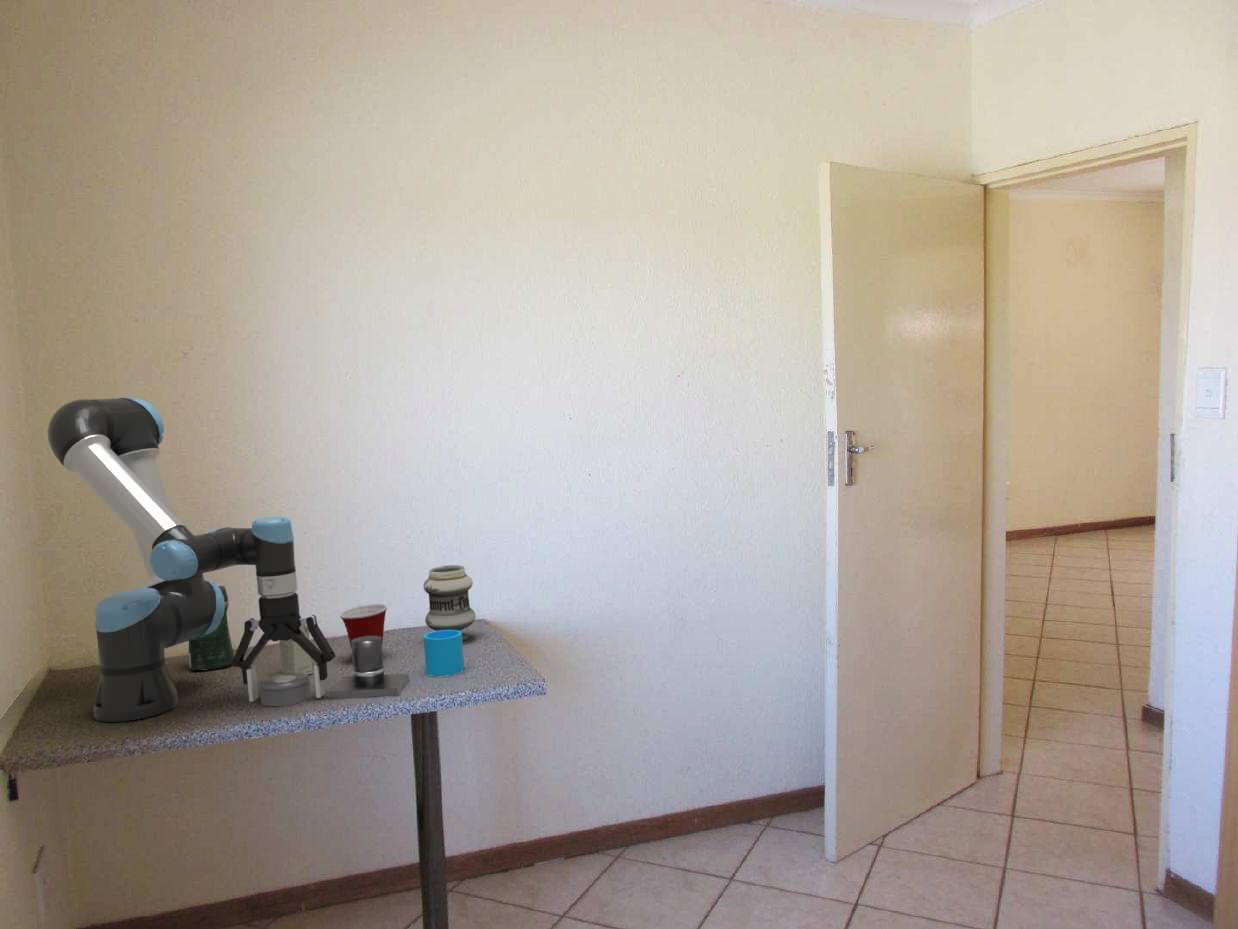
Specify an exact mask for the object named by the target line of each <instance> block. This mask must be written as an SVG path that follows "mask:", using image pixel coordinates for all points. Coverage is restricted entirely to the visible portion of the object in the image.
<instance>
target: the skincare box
mask: <svg viewBox="0 0 1238 929" xmlns="http://www.w3.org/2000/svg"><path fill="white" fill-rule="evenodd" d="M299 629H300V630H301V631H302V632H303V633H304V634H305V636H306V637H307V638H308V639H309V640H310V641H311V639H310V632H309V630H308V628H306V627H305V626H304V624H301V626H300V628H299ZM278 642H279V653H280V661H281V662H280V663H281V672H282V673H281V674H286V673H303V674H307V675H308V676H309V675H311V674H313V673H314V668H313V659H312V658H311V657H310V656H309V655H308V654H307V653H306V652H305V651H304V650H303V649H302V648H301V647H300V646H299V645H298V644H297V643H296V642H294V641H293V640H292V639H290V640H288V641H283V640H278Z"/></svg>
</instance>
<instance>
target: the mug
mask: <svg viewBox="0 0 1238 929" xmlns="http://www.w3.org/2000/svg"><path fill="white" fill-rule="evenodd" d="M462 633H463V632H462V630H460V631H458V630H440V631H436V630H434V631H430V632H427V633H425V634H424V635H423V646H424V650H423V651H424V662H425V674H426V675H427V676H429V675H433V676H445V675H452V676H455V675H454V674H456V675H458V674H457V673H459V672H461V671H462V670H463V669H464V670H465V660H464V647H463V645H464V644H463V643H462ZM461 673H462V672H461ZM459 674H460V673H459ZM433 676H432V677H433Z"/></svg>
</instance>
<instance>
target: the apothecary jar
mask: <svg viewBox="0 0 1238 929" xmlns="http://www.w3.org/2000/svg"><path fill="white" fill-rule="evenodd" d="M465 570H466V569H465V566H464V565H459V564H454V565H452V564H450V565H440V566H437V567H436V566H435V567H433V568H431V569H429V570H428V572H429V573H428V577H427V579H426V580H424V582H423V590H424V592H425V593H426V594H428V600H429V601H428V602H429V603H428V604H429V611H428V612H427V614H426V616H425V619H424V621H425V624H426V626H427V627H428V628H430V629H431V630H434V631H440V630H458V631H463V630H465V629H467V628H468V627H470V626H472V625H473V623H474V622H475V621H476V617H477V616H476V612H475V611H474V610H473V609H472V608H471V607H470V599H469V598H470V597H469V590H471V588H472V587H473V579H472V578H471V576H469V575H468V574H466V573H467V572H465ZM472 640H473V637H472V636H471V635H470V634H468V633H465V632H462V643H463V645H465V644H468V643H470V642H472Z"/></svg>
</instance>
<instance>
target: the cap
mask: <svg viewBox="0 0 1238 929" xmlns="http://www.w3.org/2000/svg"><path fill="white" fill-rule="evenodd" d="M259 691H260V703H261V704H262V706H266V705H268V706H267V707H271V706H275V707H286V706H292V705H297V704H300V703H302V702H305V701H307V700H309V699H310V697H312V696H311V683H310V680H309V674H308V675H307V674H303V673H286V674H282V673H281V674H275V675H272V676H269V677H266V678H264V679H262V680H261V681H260V687H259Z"/></svg>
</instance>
